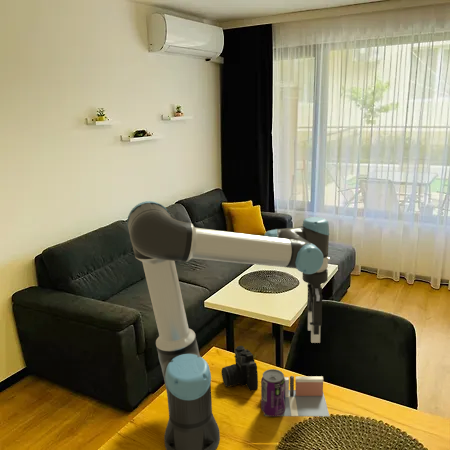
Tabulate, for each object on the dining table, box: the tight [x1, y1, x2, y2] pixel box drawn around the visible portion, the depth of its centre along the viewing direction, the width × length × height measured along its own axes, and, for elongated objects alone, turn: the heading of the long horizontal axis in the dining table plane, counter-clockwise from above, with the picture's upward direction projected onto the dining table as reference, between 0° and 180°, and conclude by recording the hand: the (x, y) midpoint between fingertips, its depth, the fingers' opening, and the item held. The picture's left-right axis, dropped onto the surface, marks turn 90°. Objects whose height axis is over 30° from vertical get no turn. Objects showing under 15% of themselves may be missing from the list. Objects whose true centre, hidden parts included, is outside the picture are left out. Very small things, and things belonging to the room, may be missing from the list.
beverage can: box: [260, 368, 285, 417], centre depth 128 cm, size 7×7×12 cm
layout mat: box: [263, 389, 330, 417], centre depth 133 cm, size 19×12×1 cm, turn 87°
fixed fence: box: [284, 375, 295, 396], centre depth 136 cm, size 9×2×6 cm, turn 87°
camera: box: [221, 345, 259, 392], centre depth 144 cm, size 14×11×10 cm
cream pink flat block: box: [294, 375, 324, 396], centre depth 135 cm, size 8×2×6 cm, turn 87°
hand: (313, 335), depth 138 cm, fingers open, 7 cm apart
